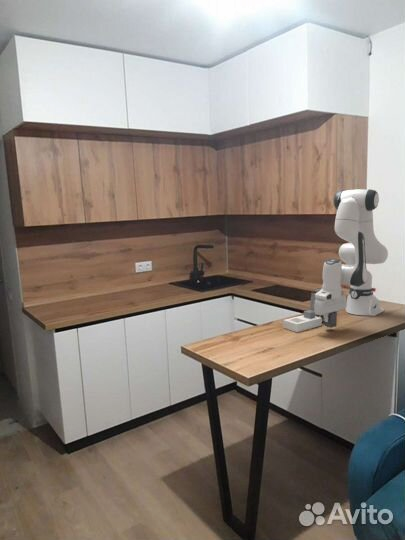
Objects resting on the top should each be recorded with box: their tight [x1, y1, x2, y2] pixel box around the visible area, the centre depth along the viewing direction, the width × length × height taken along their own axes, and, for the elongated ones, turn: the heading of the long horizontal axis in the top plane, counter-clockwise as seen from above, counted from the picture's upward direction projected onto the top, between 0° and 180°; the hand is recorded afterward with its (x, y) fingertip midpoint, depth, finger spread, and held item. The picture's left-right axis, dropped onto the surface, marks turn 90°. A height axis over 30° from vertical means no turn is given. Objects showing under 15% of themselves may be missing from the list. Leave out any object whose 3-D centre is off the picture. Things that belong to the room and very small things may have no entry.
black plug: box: [323, 312, 338, 329], centre depth 200 cm, size 4×4×7 cm
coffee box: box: [309, 287, 325, 323], centre depth 216 cm, size 9×6×16 cm
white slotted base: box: [282, 309, 323, 333], centre depth 206 cm, size 18×9×7 cm, turn 125°
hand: (330, 320), depth 200 cm, fingers closed on black plug, 4 cm apart
